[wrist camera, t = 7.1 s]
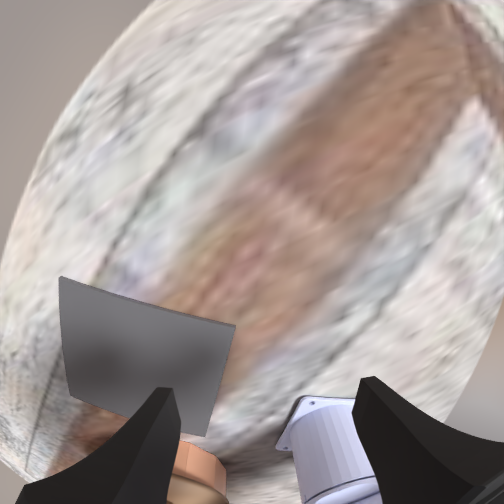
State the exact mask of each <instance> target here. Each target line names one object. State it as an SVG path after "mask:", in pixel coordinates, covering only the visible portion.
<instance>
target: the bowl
mask: <svg viewBox="0 0 504 504" xmlns="http://www.w3.org/2000/svg"><path fill="white" fill-rule="evenodd" d="M172 473H174V474H177V475H180V476H184V477H187V478H190V479H193V480H195V481H198V482H201V483H203V484H205V485H208V486H210V487H212V488H214V489H215V490H217V491H219V492H220V493H221V494H223V495H224V496H225V497H226V469H225V468H224V466H223V465H222V464H221V462H220V461H219V460H218V458H217V457H216V456H215V455H213V454H211V453H208V452H206V451H204V450H202V449H201V448H199V447H197V446H195V445H193V444H191V443H188V442H184V441H179V446H178V451H177V455H176V459H175V463H174V467H173V471H172Z"/></svg>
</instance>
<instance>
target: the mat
mask: <svg viewBox="0 0 504 504" xmlns="http://www.w3.org/2000/svg"><path fill="white" fill-rule="evenodd" d="M59 309H60V325H61V337H62V346H63V355H64V362H65V369H66V375H67V381H68V387H69V392H70V395H71V396H73V397H75V398H78V399H80V400H82V401H85V402H87V403H89V404H92V405H94V406H97V407H100V408H102V409H105V410H108V411H110V412H113V413H116V414H119V415H122V416H125V417H128V418H131V417H132V416H133V415H134V414H135V413H136V411H137V410H138V409H139V408H140V407H141V406H142V404H143V403H144V402H145V401H146V400H147V398H148V397H149V396H150V395H151V394H152V392H153V391H154V390H155V389H156V388H157V387H166V388H173V391H174V395H175V399H176V403H177V407H178V411H179V415H180V419H181V431H180V432H182V433H187V434H191V435H196V436H201V437H205V436H206V432H207V428H208V425H209V421H210V418H211V414H212V411H213V407H214V403H215V400H216V396H217V393H218V389H219V386H220V382H221V378H222V375H223V371H224V368H225V364H226V360H227V357H228V353H229V350H230V346H231V342H232V339H233V335H234V331H235V326H236V325H232V324H227V323H223V322H218V321H214V320H210V319H205V318H201V317H197V316H193V315H189V314H185V313H181V312H177V311H173V310H169V309H166V308H162V307H158V306H155V305H151V304H147V303H144V302H140V301H137V300H134V299H130V298H127V297H123V296H120V295H117V294H114V293H110V292H107V291H104V290H101V289H98V288H95V287H92V286H89V285H86V284H83V283H80V282H77V281H74V280H71V279H68V278H65V277H63V276H61V277H59Z"/></svg>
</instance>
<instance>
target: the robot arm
mask: <svg viewBox="0 0 504 504" xmlns="http://www.w3.org/2000/svg"><path fill="white" fill-rule="evenodd" d="M312 401H313V402H312ZM180 431H181V419H180V415H179V411H178V407H177V403H176V399H175V395H174V391H173V388H166V387H157V388H156V389H155V390H154V391H153V392H152V394H151V395H150V396H149V397H148V398H147V400H146V401H145V402H144V403H143V404H142V406H141V407H140V408H139V409H138V410H137V411H136V413H135V414H134V415H133V416H132V417H131V418H130V419H129V420H128V421H127V422H126V423H125V425H124V426H123V427H121V428H120V429H119V430H118V431H117V432H116V433H115V434H114V435H113V436H112V437H111V438H110V439H109V440H108V441H107V442H105V443H104V444H103V445H102V446H101V447H99V448H98V449H97V450H95V451H94V452H93V453H91V454H90V455H88V456H87V457H85V458H84V459H83V460H81V461H79V462H78V463H76V464H75V465H73V466H71V467H69V468H67V469H65V470H63V471H61V472H59V473H57V474H55V475H53V476H50V477H48V478H45V479H42V480H39V481H36V482H33V483H30V484H26V485H24V487H23V489H22V491H21V493H20V495H19V497H18V499H17V501H16V503H15V504H166V503H167V494H168V489H169V484H170V480H171V476H172V471H173V467H174V463H175V459H176V455H177V451H178V446H179V440H180ZM276 450H279V451H293V457H294V462H295V468H296V473H297V479H298V485H299V490H300V496H301V501H302V504H504V443H503V442H495V441H491V440H486V439H482V438H478V437H475V436H472V435H469V434H466V433H464V432H461V431H458V430H456V429H454V428H451V427H449V426H447V425H445V424H443V423H441V422H439V421H437V420H436V419H434V418H432V417H431V416H429V415H427V414H426V413H424V412H423V411H421V410H419V409H418V408H417V407H415V406H414V405H412V404H411V403H409V402H408V401H407V400H405V399H404V398H403V397H401V396H400V395H399V394H397V393H396V392H395V391H394V390H392V389H391V388H390V387H388V386H387V385H386V384H385V383H383V382H382V381H381V380H379V379H378V378H377V377H375V376H372V377H366V378H361V380H360V384H359V388H358V391H357V395H356V398H355V399H340V398H323V397H311V396H306V397H303V398H302V399H301V400H300V402H299V404H298V406H297V408H296V410H295V412H294V413H293V415H292V417H291V419H290V421H289V423H288V425H287V426H286V428H285V430H284V432H283V434H282V435H281V437H280V439H279V441H278V442H277V444H276Z"/></svg>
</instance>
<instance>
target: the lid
mask: <svg viewBox="0 0 504 504" xmlns="http://www.w3.org/2000/svg"><path fill="white" fill-rule="evenodd" d="M166 504H229V502H228V500H227V498H226V497H225V496H224V495H223V494H221V493H220V492H219V491H217V490H215V489H214V488H212V487H210V486H208V485H205V484H203V483H201V482H198V481H195V480H193V479H190V478H187V477H184V476H180V475H177V474H174V473H172V476H171V480H170V484H169V489H168V494H167V503H166Z"/></svg>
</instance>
